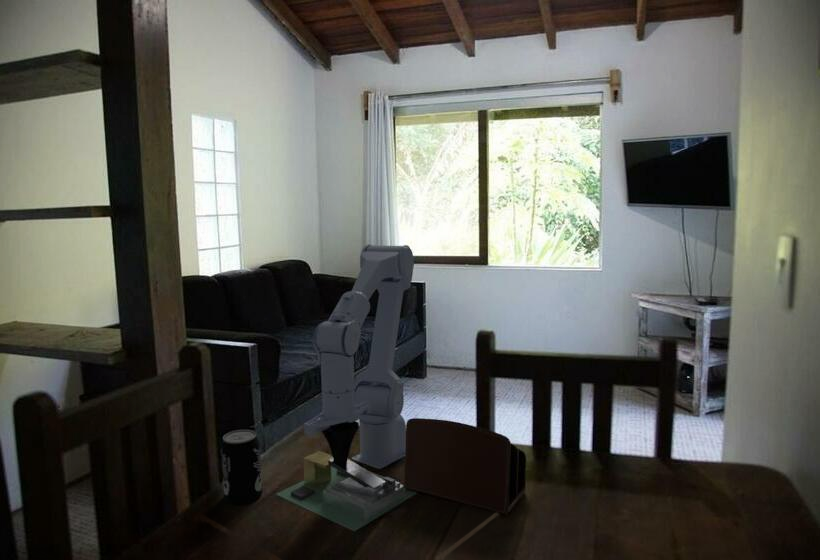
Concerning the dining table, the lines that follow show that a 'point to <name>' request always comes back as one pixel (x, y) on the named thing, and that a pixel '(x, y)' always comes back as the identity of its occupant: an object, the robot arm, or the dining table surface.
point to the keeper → (317, 469)
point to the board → (314, 502)
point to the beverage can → (241, 467)
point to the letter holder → (463, 464)
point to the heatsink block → (362, 498)
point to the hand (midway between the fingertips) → (340, 461)
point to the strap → (360, 474)
